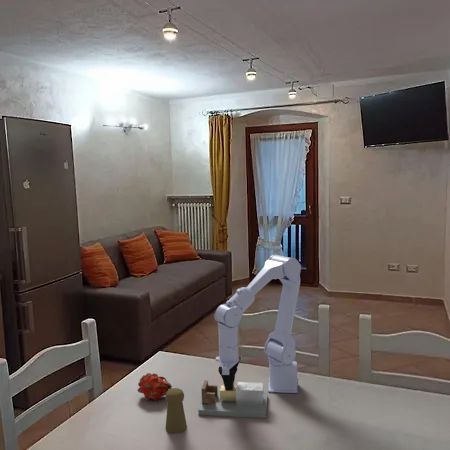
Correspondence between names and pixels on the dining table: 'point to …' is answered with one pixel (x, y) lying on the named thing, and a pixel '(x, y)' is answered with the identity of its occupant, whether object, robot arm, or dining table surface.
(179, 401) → the olive green pawn
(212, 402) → the walnut socket
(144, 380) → the dragon fruit
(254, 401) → the aluminium sleeve
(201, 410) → the slate board
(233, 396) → the brushed brass bar
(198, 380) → the dining table surface
